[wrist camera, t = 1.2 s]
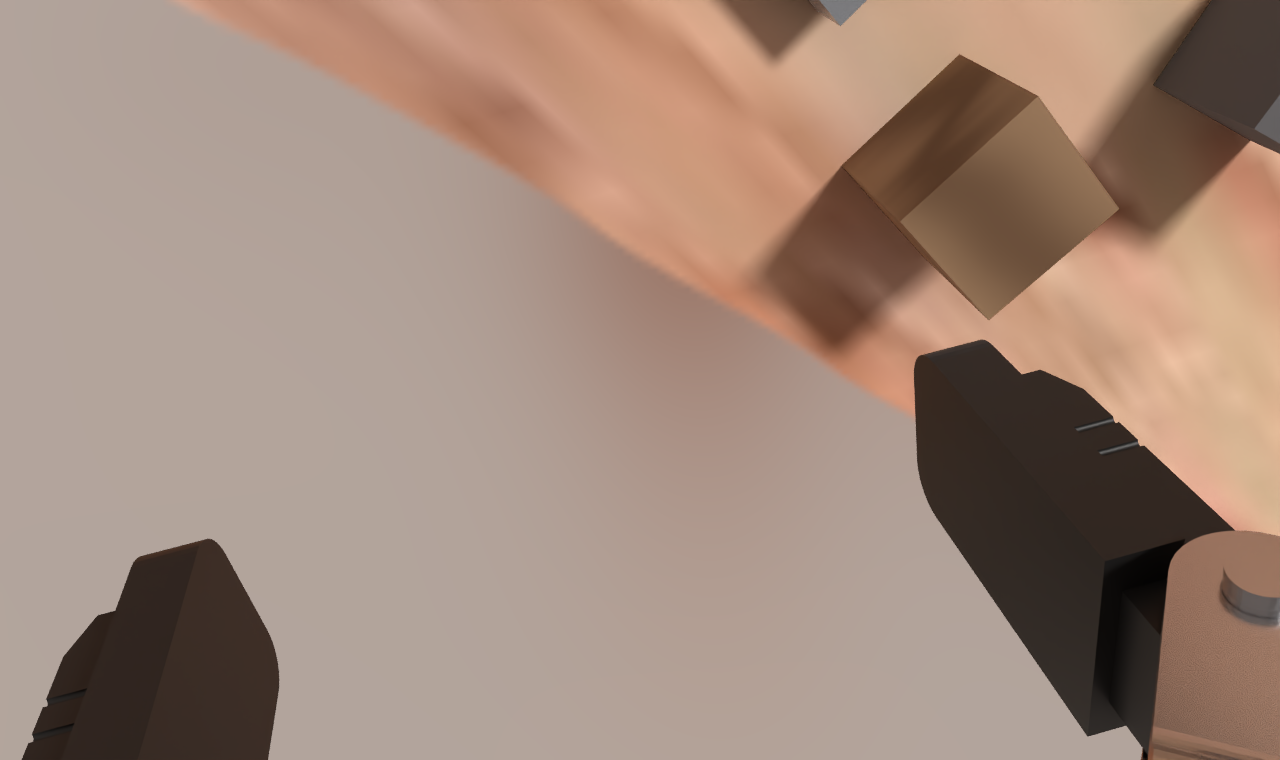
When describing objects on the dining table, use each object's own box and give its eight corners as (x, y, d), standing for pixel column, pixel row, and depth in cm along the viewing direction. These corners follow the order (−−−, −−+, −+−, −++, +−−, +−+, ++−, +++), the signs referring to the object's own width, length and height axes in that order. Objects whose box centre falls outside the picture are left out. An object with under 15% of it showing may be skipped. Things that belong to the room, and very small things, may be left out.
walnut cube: (958, 53, 32) (1038, 96, 28) (1035, 155, 35) (1119, 209, 30) (840, 165, 34) (900, 221, 29) (922, 255, 36) (988, 320, 32)
